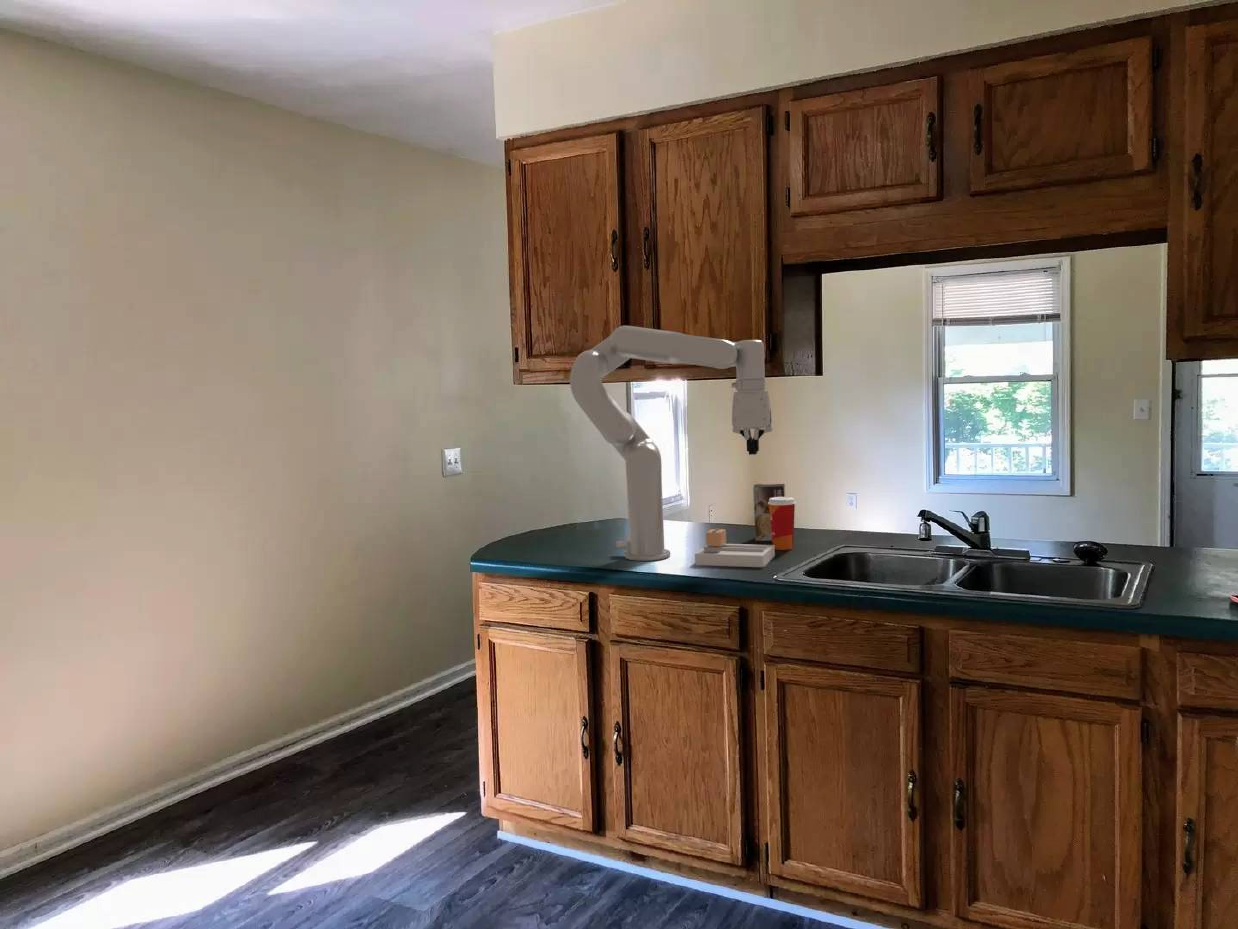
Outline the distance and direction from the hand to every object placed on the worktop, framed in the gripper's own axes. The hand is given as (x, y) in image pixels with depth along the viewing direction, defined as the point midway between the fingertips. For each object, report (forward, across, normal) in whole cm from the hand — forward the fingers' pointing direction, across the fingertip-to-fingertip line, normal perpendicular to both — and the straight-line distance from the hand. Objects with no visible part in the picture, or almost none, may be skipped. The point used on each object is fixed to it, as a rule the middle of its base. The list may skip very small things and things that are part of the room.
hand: (753, 454), depth 251 cm
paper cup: (+27, +6, +7) cm, 29 cm away
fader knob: (+24, -8, -11) cm, 28 cm away
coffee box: (+27, 0, +20) cm, 34 cm away
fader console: (+27, -3, -11) cm, 29 cm away
